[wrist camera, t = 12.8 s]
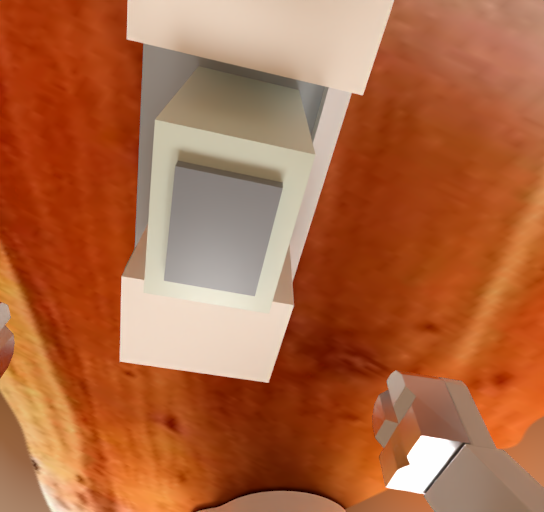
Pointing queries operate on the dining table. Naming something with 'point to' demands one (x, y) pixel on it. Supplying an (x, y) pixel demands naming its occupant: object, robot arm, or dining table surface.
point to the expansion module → (225, 190)
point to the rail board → (323, 129)
